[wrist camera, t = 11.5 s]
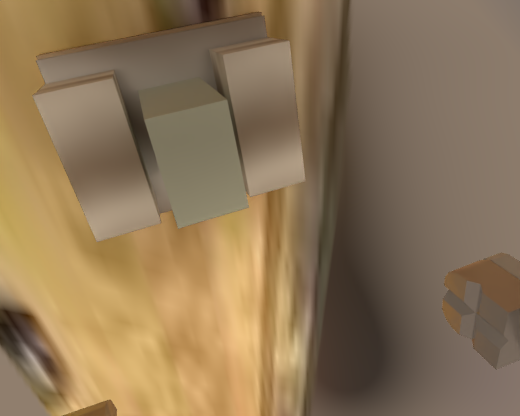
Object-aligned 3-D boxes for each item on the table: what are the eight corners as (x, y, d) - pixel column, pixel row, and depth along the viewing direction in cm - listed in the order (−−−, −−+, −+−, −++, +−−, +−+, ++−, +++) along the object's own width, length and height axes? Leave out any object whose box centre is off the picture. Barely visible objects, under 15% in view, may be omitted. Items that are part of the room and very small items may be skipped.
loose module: (137, 90, 25) (143, 119, 18) (199, 76, 25) (227, 99, 19) (165, 178, 28) (179, 232, 21) (218, 164, 28) (249, 211, 22)
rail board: (39, 54, 24) (18, 64, 19) (256, 12, 26) (286, 11, 22) (107, 221, 29) (105, 261, 25) (280, 172, 32) (307, 200, 27)
